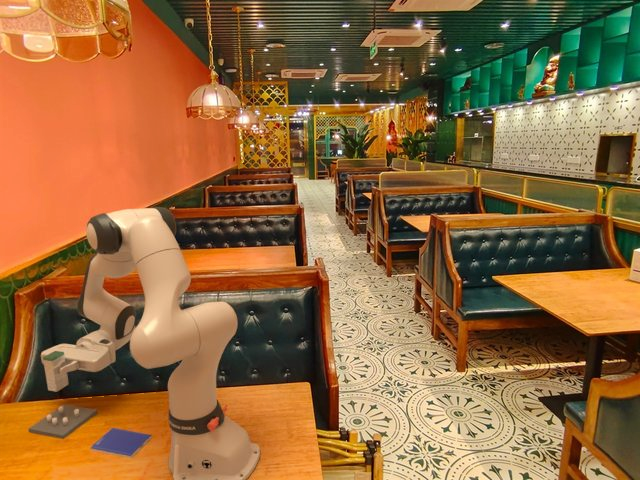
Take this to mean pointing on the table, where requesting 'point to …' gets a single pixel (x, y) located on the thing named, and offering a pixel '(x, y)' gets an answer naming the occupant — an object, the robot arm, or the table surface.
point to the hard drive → (121, 442)
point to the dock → (63, 421)
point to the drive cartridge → (55, 371)
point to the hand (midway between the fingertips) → (53, 371)
